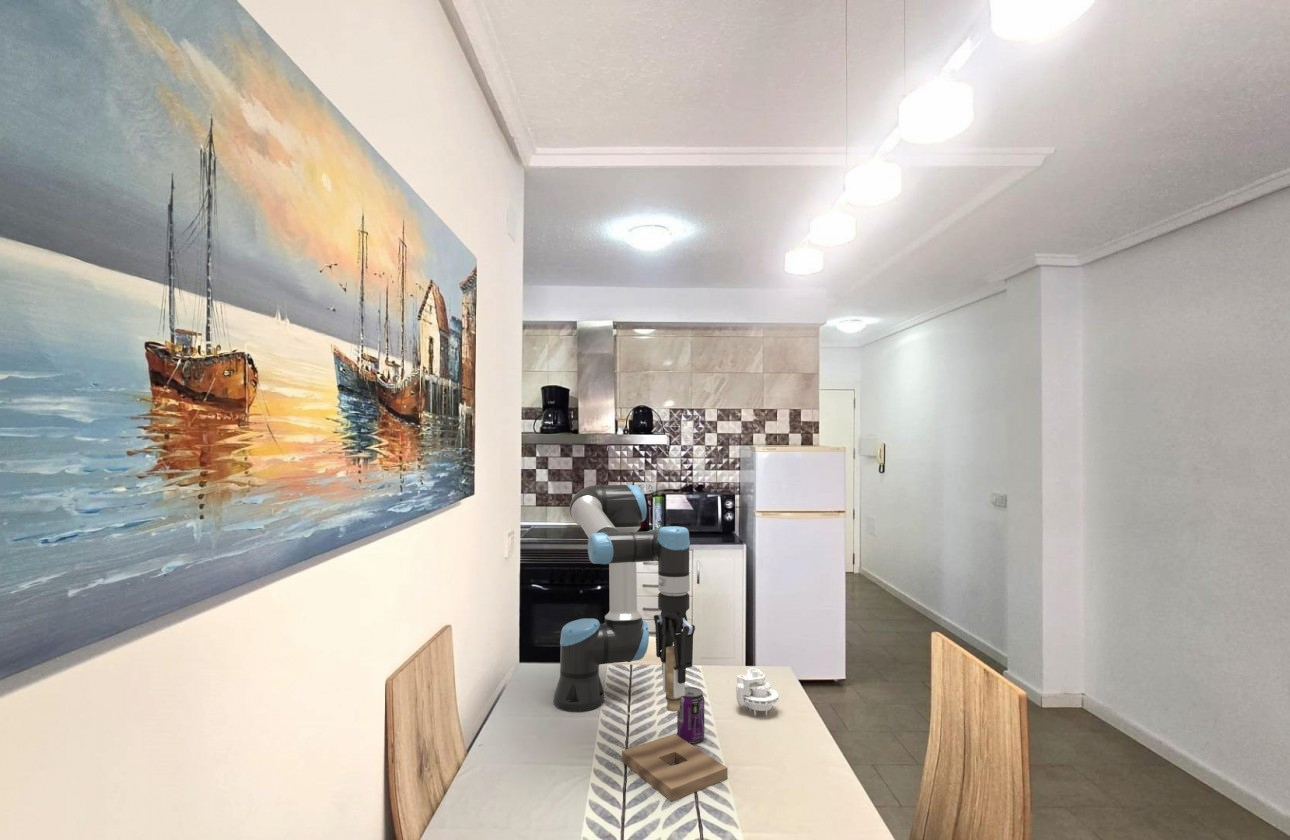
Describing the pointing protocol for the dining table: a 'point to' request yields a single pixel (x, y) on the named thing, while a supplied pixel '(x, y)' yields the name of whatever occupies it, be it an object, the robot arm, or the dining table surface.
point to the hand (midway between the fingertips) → (673, 693)
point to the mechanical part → (755, 691)
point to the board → (677, 779)
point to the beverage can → (691, 715)
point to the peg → (671, 681)
